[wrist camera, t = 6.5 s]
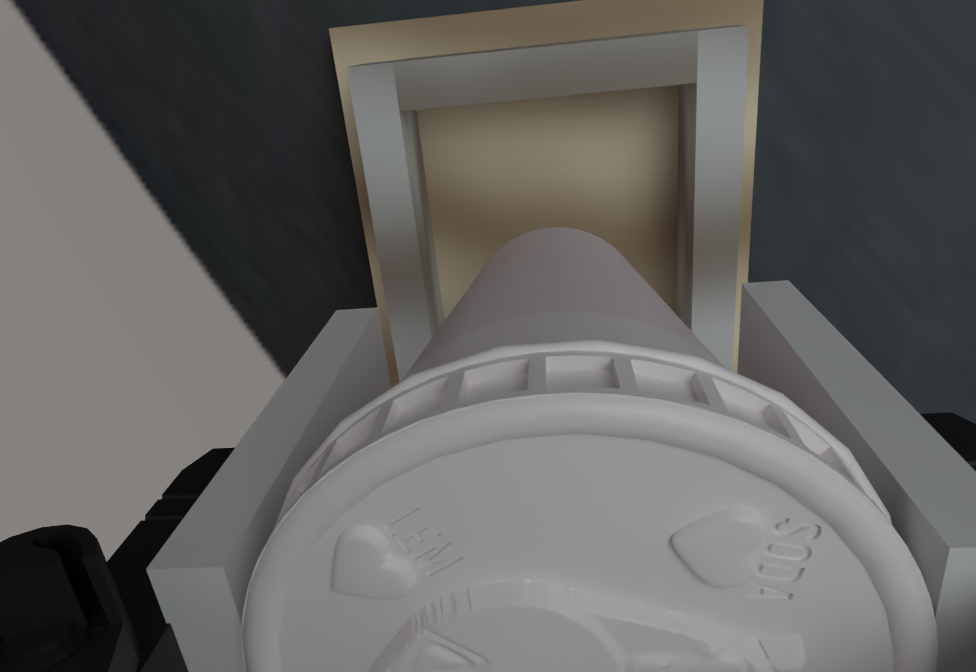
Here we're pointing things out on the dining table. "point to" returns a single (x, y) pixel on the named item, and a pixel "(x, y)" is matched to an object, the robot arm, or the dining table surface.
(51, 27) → the dining table surface
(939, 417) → the robot arm
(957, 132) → the dining table surface
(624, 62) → the tray
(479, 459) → the smoothie
